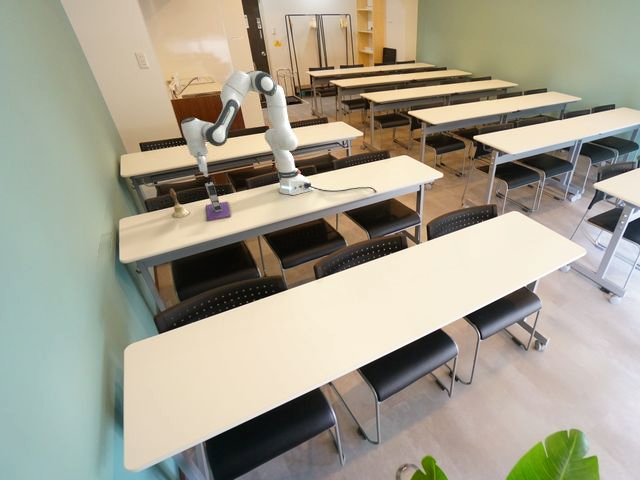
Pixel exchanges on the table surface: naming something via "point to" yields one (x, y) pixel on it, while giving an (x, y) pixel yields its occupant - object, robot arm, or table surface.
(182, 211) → the hand bell
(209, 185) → the vintage mobile phone
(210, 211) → the mat
